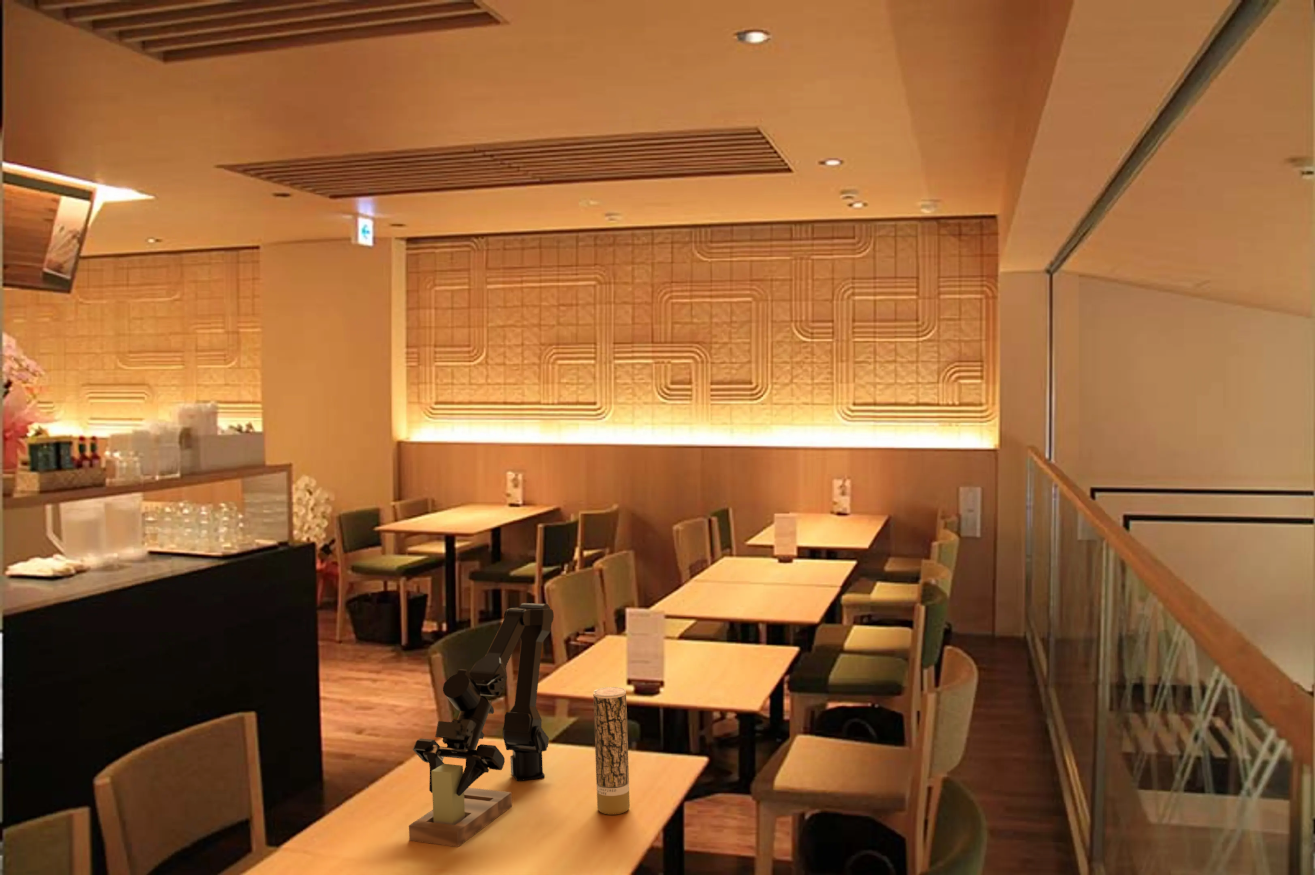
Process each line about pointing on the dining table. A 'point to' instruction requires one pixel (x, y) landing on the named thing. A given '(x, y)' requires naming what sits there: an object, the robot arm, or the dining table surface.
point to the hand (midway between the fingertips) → (444, 793)
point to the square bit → (447, 794)
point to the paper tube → (611, 750)
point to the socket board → (478, 814)
